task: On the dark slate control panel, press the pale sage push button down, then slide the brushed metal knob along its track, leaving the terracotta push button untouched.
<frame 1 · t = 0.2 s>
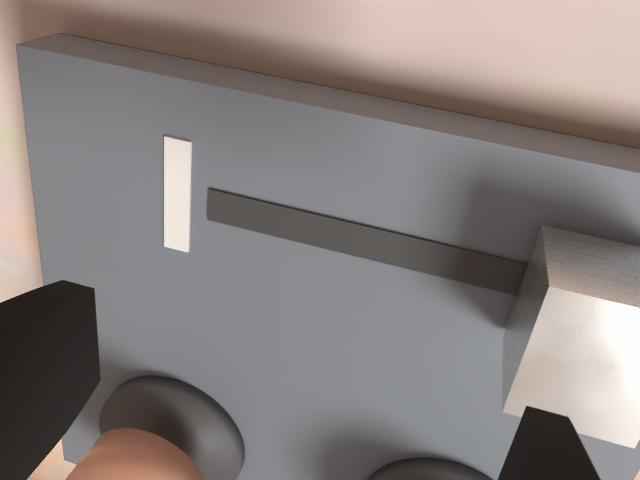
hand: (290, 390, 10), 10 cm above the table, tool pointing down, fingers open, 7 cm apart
control panel: (333, 333, 21), on the table
slider knob: (586, 331, 15), point 4 cm above the table, slide at 0.0 cm
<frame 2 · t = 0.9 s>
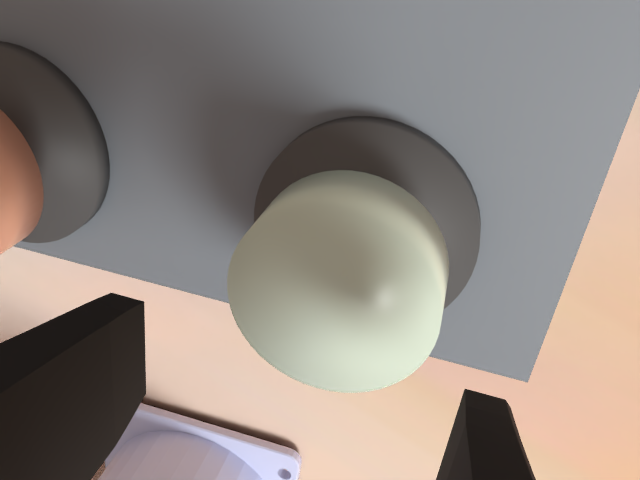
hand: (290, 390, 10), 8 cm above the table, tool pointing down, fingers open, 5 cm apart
sage button: (340, 282, 13), point 5 cm above the table, slide at 0.0 cm
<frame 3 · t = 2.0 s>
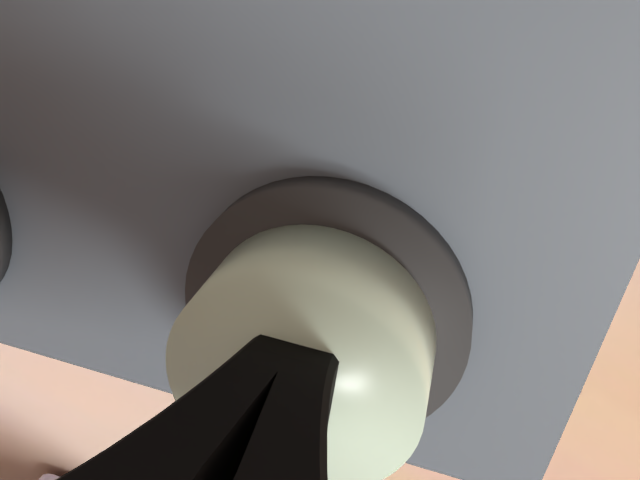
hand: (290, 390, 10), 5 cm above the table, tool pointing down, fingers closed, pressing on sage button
sage button: (304, 359, 11), point 4 cm above the table, slide at 1.2 cm, touching gripper
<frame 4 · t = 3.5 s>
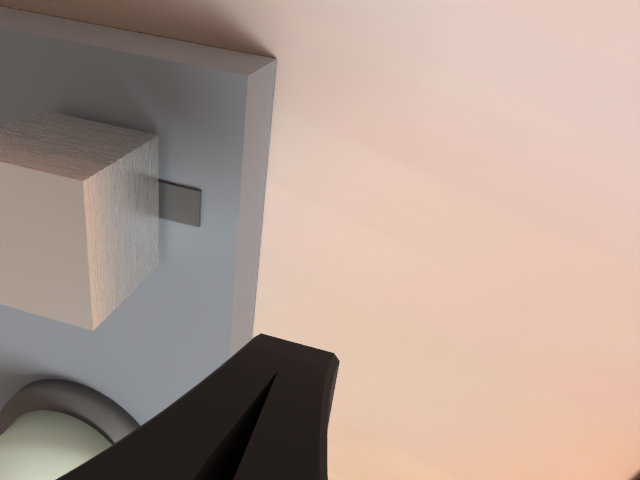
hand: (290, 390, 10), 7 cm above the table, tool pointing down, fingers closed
slider knob: (67, 215, 14), point 4 cm above the table, slide at 0.0 cm
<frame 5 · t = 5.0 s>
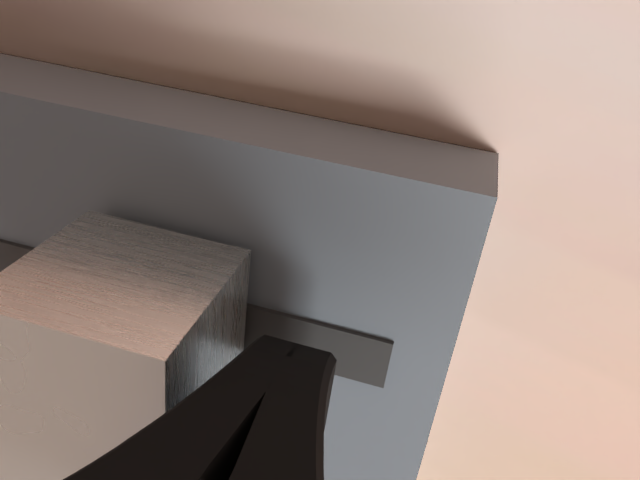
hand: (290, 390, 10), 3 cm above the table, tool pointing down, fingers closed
control panel: (42, 373, 17), on the table
slider knob: (124, 365, 10), point 4 cm above the table, slide at 1.6 cm, touching gripper
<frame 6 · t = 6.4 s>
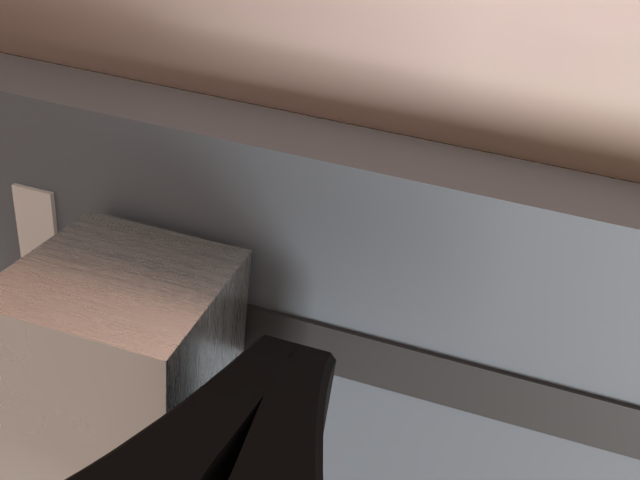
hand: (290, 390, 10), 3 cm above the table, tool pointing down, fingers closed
control panel: (290, 447, 15), on the table
slider knob: (125, 365, 10), point 4 cm above the table, slide at 8.7 cm, touching gripper
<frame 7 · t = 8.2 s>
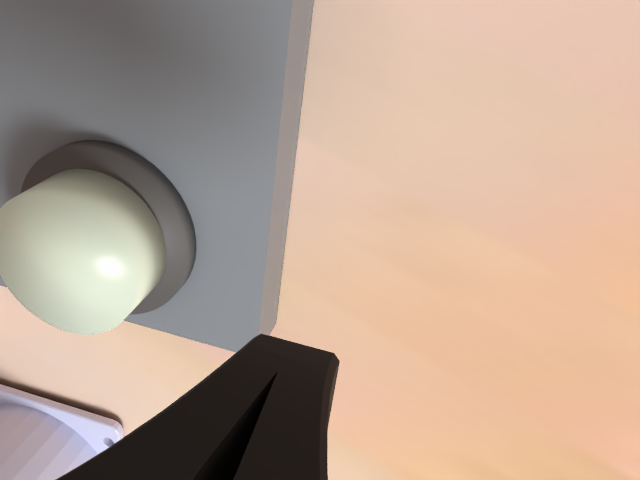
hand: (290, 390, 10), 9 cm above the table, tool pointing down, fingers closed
sage button: (80, 252, 17), point 4 cm above the table, slide at 1.2 cm
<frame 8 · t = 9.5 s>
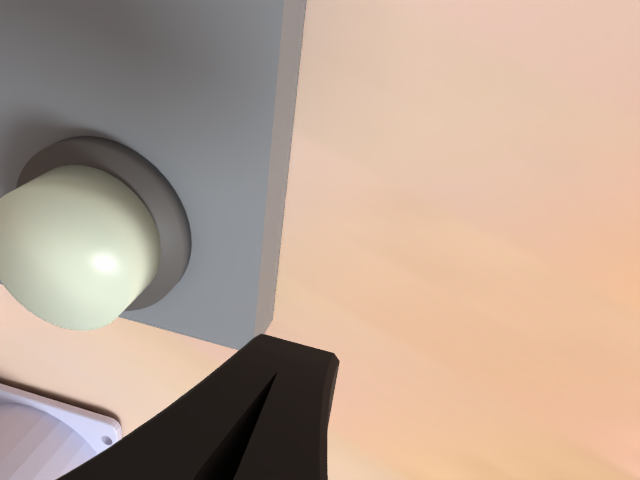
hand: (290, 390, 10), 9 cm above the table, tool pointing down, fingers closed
sage button: (75, 248, 17), point 4 cm above the table, slide at 1.2 cm
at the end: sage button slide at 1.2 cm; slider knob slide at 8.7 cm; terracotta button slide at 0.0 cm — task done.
